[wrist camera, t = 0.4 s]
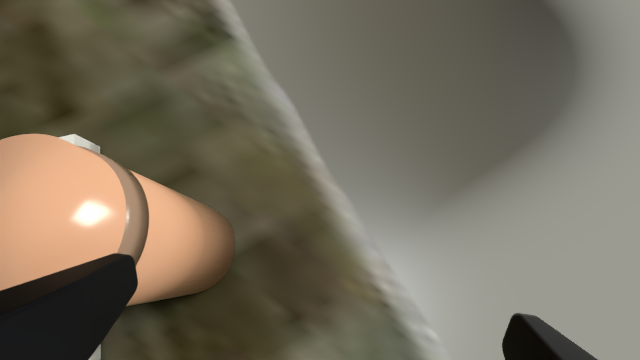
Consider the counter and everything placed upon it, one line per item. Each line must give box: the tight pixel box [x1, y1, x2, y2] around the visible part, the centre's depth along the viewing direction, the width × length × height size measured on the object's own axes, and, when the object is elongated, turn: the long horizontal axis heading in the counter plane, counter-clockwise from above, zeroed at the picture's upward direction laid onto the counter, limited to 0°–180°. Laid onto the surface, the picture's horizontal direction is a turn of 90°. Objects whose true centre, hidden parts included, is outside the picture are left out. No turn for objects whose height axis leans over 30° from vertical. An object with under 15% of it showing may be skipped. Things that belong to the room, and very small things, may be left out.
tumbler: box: [0, 134, 235, 306], centre depth 16 cm, size 7×7×13 cm
